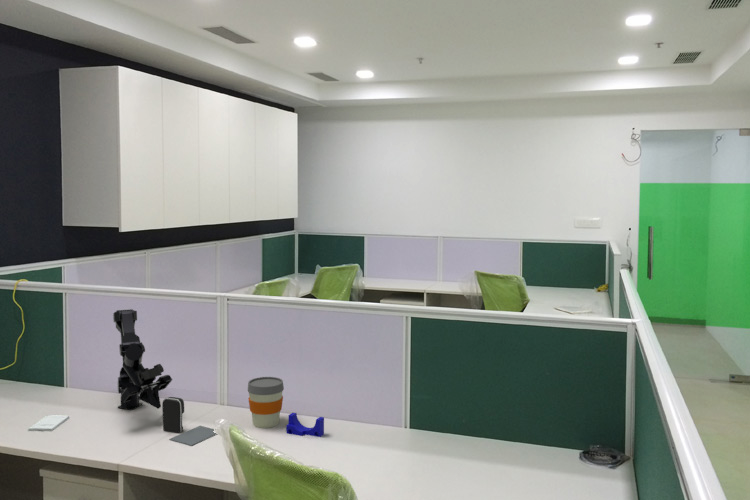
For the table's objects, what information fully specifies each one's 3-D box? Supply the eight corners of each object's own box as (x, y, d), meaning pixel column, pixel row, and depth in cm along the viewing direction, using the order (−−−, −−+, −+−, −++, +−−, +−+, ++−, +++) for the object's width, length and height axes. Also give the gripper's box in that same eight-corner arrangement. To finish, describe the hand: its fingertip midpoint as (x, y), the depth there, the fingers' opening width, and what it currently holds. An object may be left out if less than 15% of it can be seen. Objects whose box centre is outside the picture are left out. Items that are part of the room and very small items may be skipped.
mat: (169, 439, 217) (169, 438, 217) (200, 426, 230) (200, 425, 230) (191, 446, 213) (191, 445, 213) (221, 431, 225) (221, 431, 225)
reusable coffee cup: (272, 431, 225) (271, 389, 224) (240, 426, 230) (240, 384, 228) (290, 419, 237) (290, 379, 235) (260, 414, 241) (259, 374, 240)
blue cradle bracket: (286, 433, 224) (286, 416, 224) (292, 429, 228) (292, 412, 228) (317, 439, 220) (317, 421, 219) (323, 434, 224) (324, 417, 223)
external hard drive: (69, 419, 237) (52, 432, 224) (46, 419, 237) (28, 432, 224) (69, 415, 236) (51, 428, 224) (46, 415, 237) (27, 427, 224)
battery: (186, 429, 227) (185, 397, 226) (179, 433, 223) (179, 400, 222) (168, 427, 229) (168, 395, 228) (162, 430, 225) (161, 398, 224)
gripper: (125, 364, 221) (149, 402, 217) (168, 352, 237) (191, 387, 233) (110, 383, 226) (133, 420, 222) (153, 370, 242) (175, 405, 238)
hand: (159, 407), depth 228 cm, fingers closed
